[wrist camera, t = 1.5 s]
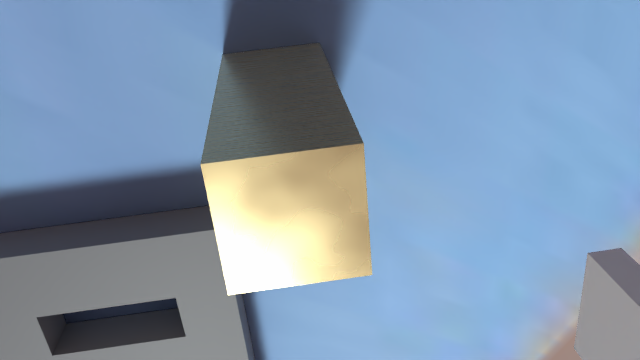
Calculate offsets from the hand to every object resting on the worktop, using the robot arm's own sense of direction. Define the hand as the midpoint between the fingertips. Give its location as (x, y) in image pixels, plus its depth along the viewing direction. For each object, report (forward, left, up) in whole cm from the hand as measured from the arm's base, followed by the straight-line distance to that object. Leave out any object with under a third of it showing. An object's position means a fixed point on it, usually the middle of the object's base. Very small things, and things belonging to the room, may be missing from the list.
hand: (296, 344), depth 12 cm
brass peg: (0, 0, -17) cm, 17 cm away
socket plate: (+10, +15, -17) cm, 24 cm away
